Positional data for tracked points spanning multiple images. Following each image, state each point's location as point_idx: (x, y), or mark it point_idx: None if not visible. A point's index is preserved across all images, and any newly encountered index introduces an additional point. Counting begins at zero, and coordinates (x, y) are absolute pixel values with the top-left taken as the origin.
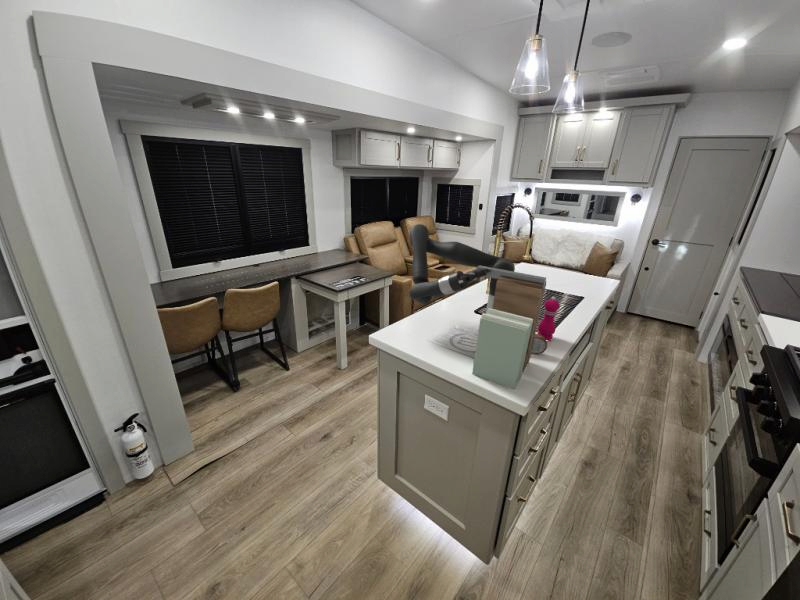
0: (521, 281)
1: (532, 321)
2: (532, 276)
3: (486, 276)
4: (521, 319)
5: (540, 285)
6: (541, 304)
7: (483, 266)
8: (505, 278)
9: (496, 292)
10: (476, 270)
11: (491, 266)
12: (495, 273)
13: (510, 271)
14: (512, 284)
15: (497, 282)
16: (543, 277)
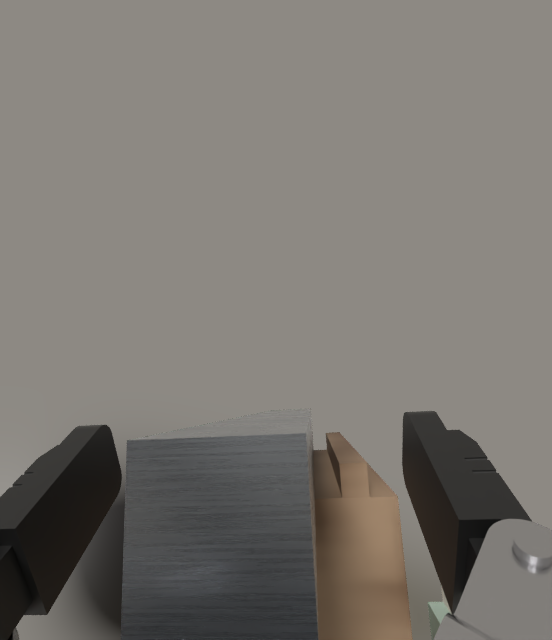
0: (340, 441)
1: (432, 602)
2: (295, 410)
3: (315, 542)
4: None
5: (339, 433)
6: None
7: (190, 431)
8: (351, 454)
9: (408, 619)
10: (311, 525)
11: (107, 437)
12: (311, 452)
13: (257, 415)
14: (374, 472)
15: (398, 507)
16: (277, 410)
